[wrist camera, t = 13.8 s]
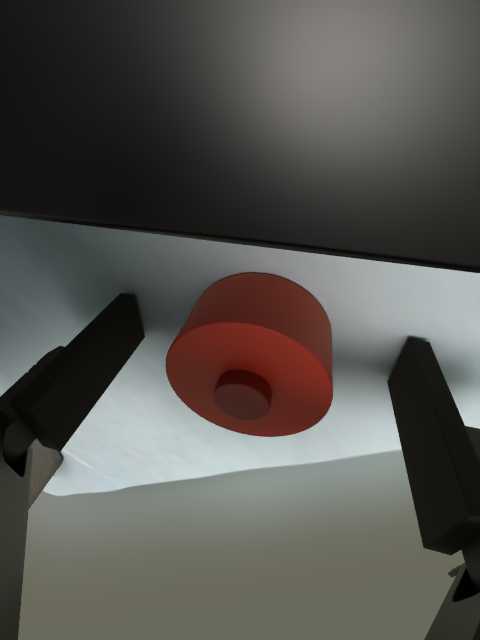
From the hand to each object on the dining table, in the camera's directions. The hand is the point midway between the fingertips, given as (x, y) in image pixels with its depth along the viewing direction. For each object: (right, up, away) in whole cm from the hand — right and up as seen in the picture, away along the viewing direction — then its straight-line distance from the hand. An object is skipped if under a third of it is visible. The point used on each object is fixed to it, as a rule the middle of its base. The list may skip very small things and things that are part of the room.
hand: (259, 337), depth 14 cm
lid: (0, 0, 0) cm, 0 cm away
